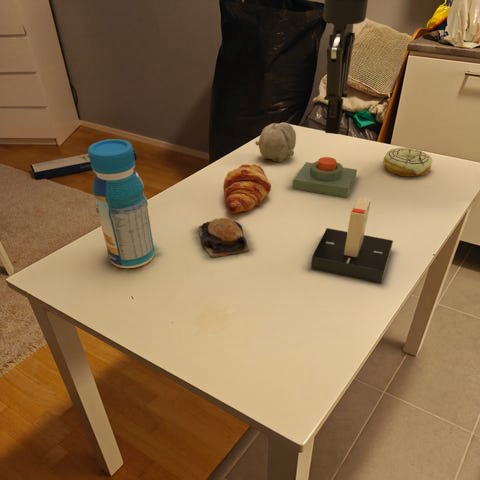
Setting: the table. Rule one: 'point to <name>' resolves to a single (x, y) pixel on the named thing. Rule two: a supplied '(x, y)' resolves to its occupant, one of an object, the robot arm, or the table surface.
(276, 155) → the grey rounded lump
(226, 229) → the chocolate dessert
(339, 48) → the robot arm
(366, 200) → the knob
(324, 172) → the button housing
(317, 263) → the dial panel
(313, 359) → the table surface
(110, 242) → the beverage bottle
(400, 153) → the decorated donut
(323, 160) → the button
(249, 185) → the croissant
